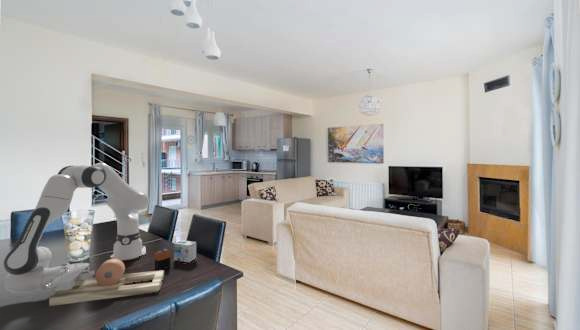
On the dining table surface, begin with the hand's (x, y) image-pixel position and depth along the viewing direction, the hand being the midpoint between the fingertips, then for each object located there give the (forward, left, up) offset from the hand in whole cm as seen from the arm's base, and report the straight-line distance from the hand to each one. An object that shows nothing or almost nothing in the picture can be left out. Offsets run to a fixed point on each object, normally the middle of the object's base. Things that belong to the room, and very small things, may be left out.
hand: (93, 273), depth 119 cm
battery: (-18, +26, -8) cm, 33 cm away
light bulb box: (-26, +37, -8) cm, 46 cm away
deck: (0, +8, -8) cm, 11 cm away
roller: (0, +6, 0) cm, 7 cm away
